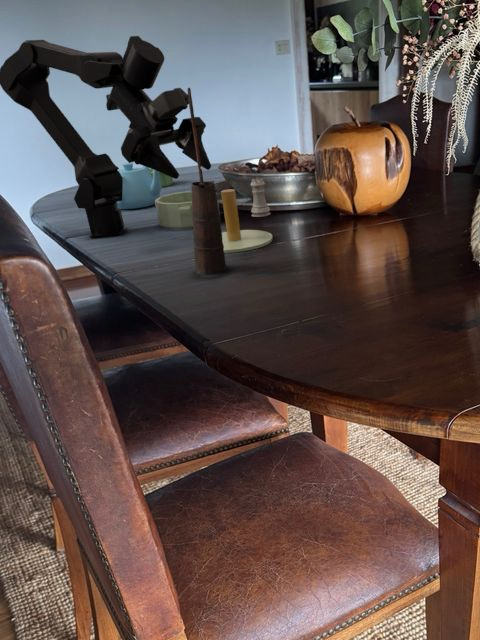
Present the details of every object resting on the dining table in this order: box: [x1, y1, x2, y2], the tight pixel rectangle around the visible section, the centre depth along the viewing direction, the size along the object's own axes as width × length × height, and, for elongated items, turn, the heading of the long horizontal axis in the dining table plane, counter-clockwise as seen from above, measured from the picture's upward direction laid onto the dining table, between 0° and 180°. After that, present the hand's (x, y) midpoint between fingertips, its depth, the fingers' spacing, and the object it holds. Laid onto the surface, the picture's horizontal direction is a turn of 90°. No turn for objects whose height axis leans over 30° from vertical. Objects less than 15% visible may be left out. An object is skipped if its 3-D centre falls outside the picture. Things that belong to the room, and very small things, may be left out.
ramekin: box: [149, 168, 174, 188], centre depth 191 cm, size 9×9×4 cm
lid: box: [220, 188, 274, 254], centre depth 122 cm, size 15×15×10 cm
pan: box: [154, 190, 221, 228], centre depth 144 cm, size 14×19×6 cm
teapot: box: [116, 162, 162, 210], centre depth 165 cm, size 15×15×10 cm
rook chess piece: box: [249, 178, 272, 218], centre depth 143 cm, size 4×4×8 cm
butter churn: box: [186, 87, 227, 276], centre depth 102 cm, size 9×10×28 cm
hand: (194, 172), depth 122 cm, fingers open, 9 cm apart
